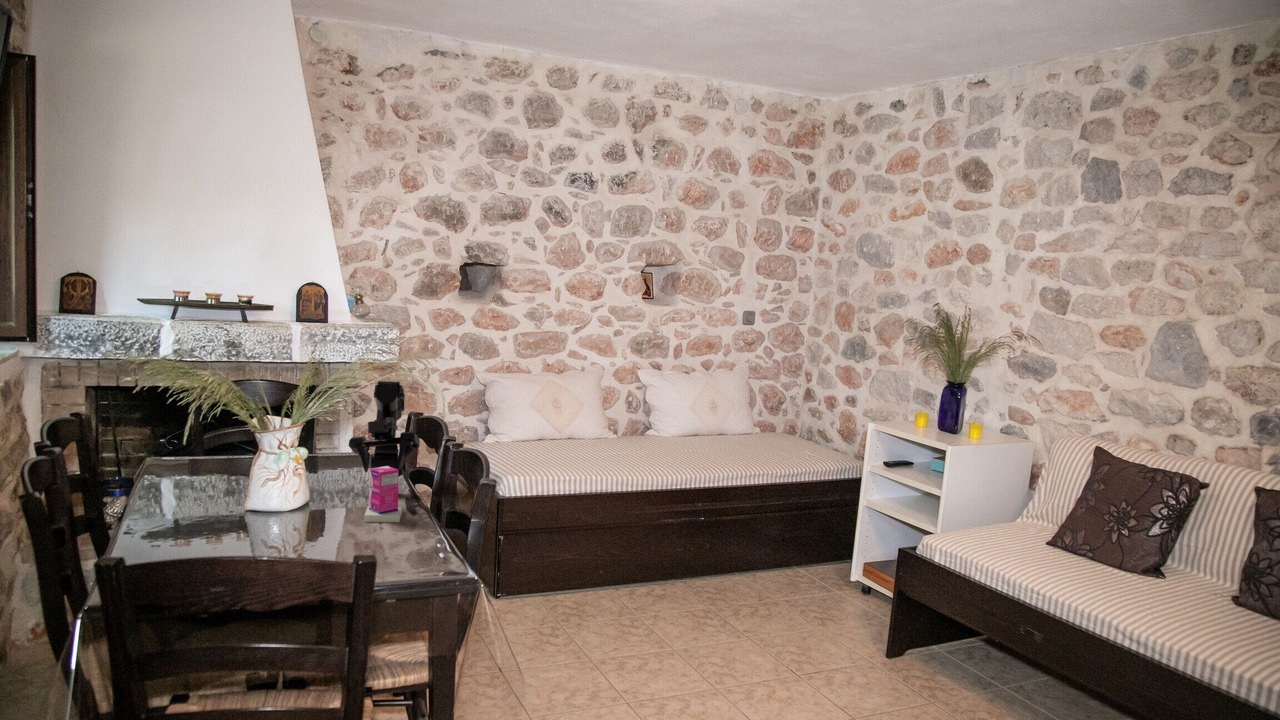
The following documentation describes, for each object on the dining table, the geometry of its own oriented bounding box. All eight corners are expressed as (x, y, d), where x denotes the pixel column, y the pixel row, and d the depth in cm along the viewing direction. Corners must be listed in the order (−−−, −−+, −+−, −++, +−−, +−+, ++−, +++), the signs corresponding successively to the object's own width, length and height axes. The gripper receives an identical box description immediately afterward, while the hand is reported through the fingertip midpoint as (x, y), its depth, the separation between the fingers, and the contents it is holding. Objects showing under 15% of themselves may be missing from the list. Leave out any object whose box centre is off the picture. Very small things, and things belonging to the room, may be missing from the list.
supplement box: (367, 509, 224) (368, 468, 223) (387, 506, 228) (388, 465, 227) (379, 514, 220) (380, 471, 219) (398, 510, 224) (400, 469, 224)
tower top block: (367, 513, 228) (368, 506, 228) (401, 513, 230) (402, 506, 229) (363, 522, 219) (364, 515, 219) (399, 522, 221) (399, 515, 221)
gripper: (344, 410, 232) (338, 462, 224) (410, 404, 232) (406, 455, 224) (358, 428, 242) (353, 477, 234) (421, 421, 242) (418, 471, 234)
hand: (382, 470), depth 231 cm, fingers open, 9 cm apart
